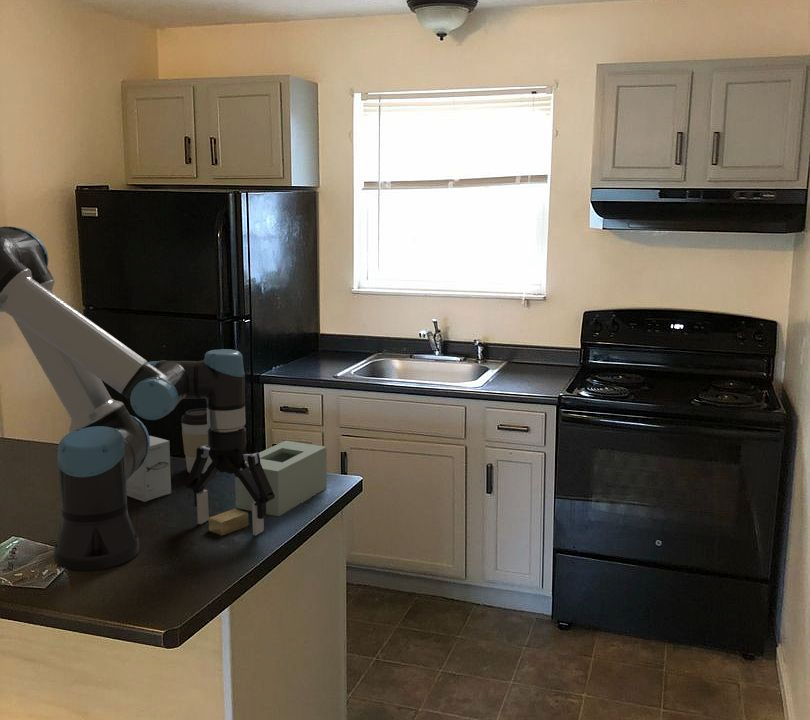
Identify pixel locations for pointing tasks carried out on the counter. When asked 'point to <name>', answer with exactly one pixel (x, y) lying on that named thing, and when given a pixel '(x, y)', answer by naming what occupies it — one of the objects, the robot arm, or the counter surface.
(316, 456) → the grey box with slot
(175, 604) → the counter surface
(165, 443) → the supplement box
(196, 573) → the counter surface
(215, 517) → the tan wooden block
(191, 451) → the coffee cup
